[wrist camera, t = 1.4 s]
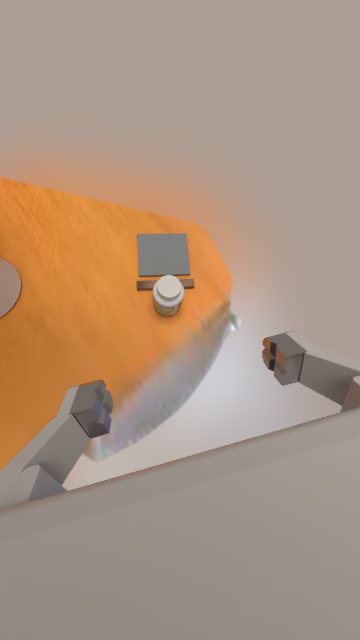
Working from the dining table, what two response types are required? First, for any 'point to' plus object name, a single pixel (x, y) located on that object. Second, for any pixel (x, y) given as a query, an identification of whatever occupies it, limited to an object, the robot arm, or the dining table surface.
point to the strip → (150, 284)
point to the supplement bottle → (168, 295)
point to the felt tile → (163, 255)
